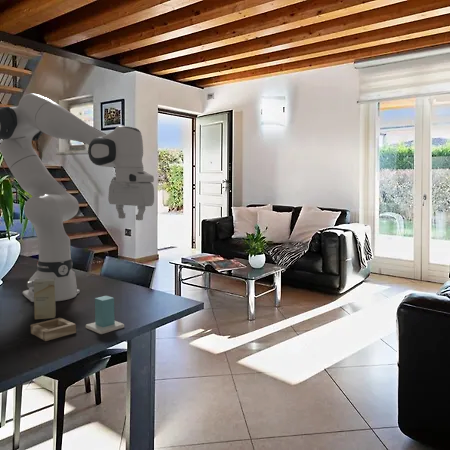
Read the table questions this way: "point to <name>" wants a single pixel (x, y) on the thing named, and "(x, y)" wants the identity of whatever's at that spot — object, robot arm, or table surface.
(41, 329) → the pocket holder
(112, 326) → the ceramic tile
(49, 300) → the skincare box
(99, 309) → the teal bar
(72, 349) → the table surface
